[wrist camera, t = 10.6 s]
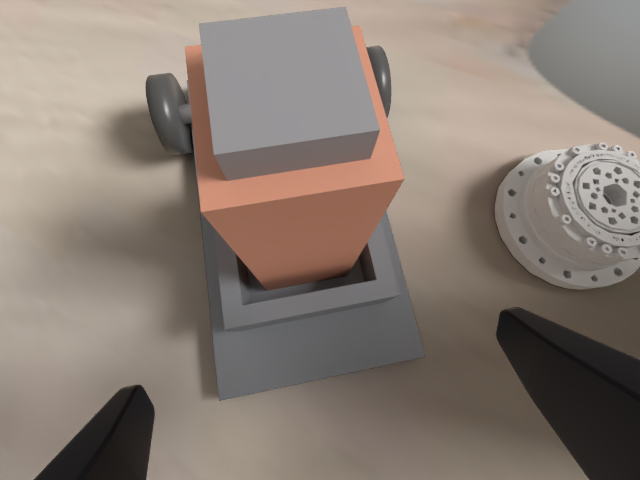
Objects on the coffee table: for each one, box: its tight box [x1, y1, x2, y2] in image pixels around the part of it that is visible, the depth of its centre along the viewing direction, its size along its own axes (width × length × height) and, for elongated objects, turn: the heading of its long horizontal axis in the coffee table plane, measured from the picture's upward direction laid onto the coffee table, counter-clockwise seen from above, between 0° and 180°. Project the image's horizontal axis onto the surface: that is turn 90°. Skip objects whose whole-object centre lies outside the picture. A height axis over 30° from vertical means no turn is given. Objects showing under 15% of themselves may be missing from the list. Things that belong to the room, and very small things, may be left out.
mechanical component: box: [494, 142, 640, 290], centre depth 22 cm, size 10×4×10 cm
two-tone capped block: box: [185, 7, 404, 291], centre depth 14 cm, size 5×5×14 cm
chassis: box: [146, 46, 425, 401], centre depth 21 cm, size 22×15×5 cm
